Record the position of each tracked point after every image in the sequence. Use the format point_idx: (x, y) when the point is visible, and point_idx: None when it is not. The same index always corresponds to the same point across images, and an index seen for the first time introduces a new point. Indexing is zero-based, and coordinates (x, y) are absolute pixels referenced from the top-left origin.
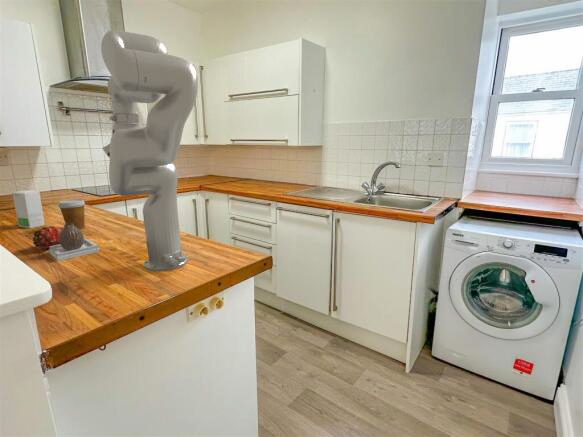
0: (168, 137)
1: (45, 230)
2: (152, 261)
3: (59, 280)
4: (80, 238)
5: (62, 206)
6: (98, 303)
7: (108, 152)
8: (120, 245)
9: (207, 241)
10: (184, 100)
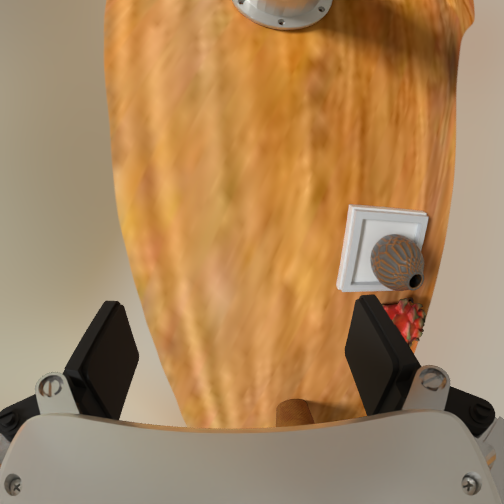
0: None
1: (412, 331)
2: None
3: (450, 100)
4: (390, 241)
5: None
6: None
7: (493, 428)
8: (293, 214)
9: (110, 65)
10: None
